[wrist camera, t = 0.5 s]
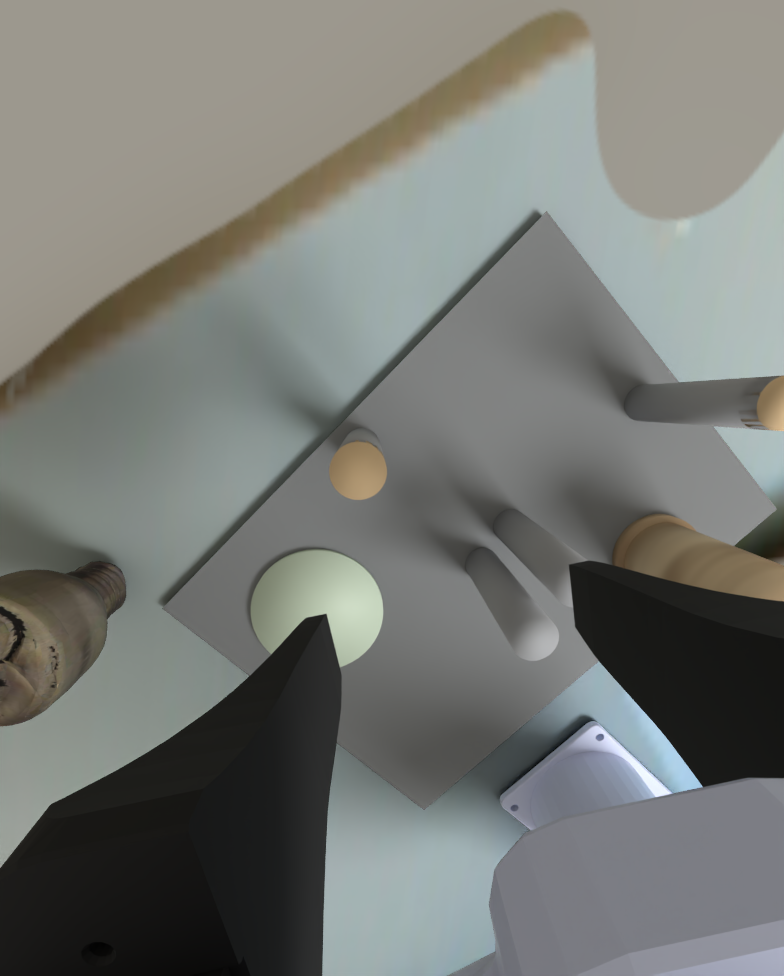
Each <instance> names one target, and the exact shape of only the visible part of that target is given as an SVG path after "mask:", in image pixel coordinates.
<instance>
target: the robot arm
mask: <svg viewBox="0 0 784 976" xmlns="http://www.w3.org/2000/svg"><path fill="white" fill-rule="evenodd" d="M569 572H570V582H571V592H572V602H573V611H574V621H575V628H576V629H577V631H578V632H579V634H580V635H581V637H582V638H583V640H584V641H585V643H586V644H587V646H588V647H589V649H590V650H591V651H592V653H593V654H594V656H595V657H596V658H597V659H598V660H599V662H600V663H601V664H602V665H603V666H604V667H605V668H606V670H607V671H608V672H609V673H610V674H611V675H612V676H613V678H614V679H615V680H616V681H617V682H618V683H619V684H620V685H621V686H622V688H623V689H624V690H625V691H626V692H627V693H628V694H629V695H630V696H631V698H632V699H633V700H634V701H635V702H636V703H637V704H638V705H639V706H640V708H641V709H642V710H643V711H644V712H645V713H646V714H647V715H648V716H649V718H650V719H651V720H652V721H653V722H654V723H655V724H656V726H657V727H658V728H659V729H660V730H661V732H662V733H663V734H664V735H665V736H666V738H667V739H668V740H669V741H670V743H671V744H672V745H673V747H674V748H675V749H676V751H677V752H678V754H679V755H680V756H681V758H682V759H683V760H684V762H685V763H686V764H687V766H688V767H689V768H690V770H691V771H692V772H693V774H694V775H695V776H696V778H697V779H698V780H699V782H700V783H701V785H702V786H703V787H702V788H697V789H692V790H687V791H683V792H678V793H672V792H671V791H670V790H669V789H668V788H667V787H666V786H664V785H663V784H662V783H661V782H660V781H659V780H658V779H657V778H656V777H655V776H654V775H653V774H652V773H651V772H650V771H649V770H648V769H646V768H645V767H644V766H643V765H642V764H641V763H640V762H639V761H638V760H637V759H636V758H635V757H634V756H633V755H632V754H631V753H630V752H628V751H627V750H626V749H625V748H624V747H623V746H622V745H621V744H620V743H619V742H618V741H617V740H616V739H615V738H614V737H613V736H612V735H610V734H609V733H608V732H607V731H606V730H605V729H604V728H603V727H602V726H601V725H600V724H599V723H597V722H596V721H591V722H588V723H587V724H585V725H584V726H583V727H582V728H581V729H579V730H578V731H577V732H576V733H575V734H573V735H572V736H571V737H570V738H569V739H568V740H566V741H565V742H564V743H563V744H562V745H560V746H559V747H558V748H557V749H556V750H554V751H553V752H552V753H551V754H550V755H548V756H547V757H546V758H545V759H544V760H542V761H541V762H540V763H539V764H538V765H536V766H535V767H534V768H533V769H532V770H530V771H529V772H528V773H527V774H526V775H524V776H523V777H522V778H521V779H520V780H518V781H517V782H516V783H515V784H514V785H512V786H511V787H510V788H509V789H508V790H506V791H505V792H504V793H503V794H502V795H501V796H500V803H501V806H502V807H503V808H504V809H505V810H506V811H508V812H509V813H510V814H511V815H512V816H514V817H515V818H516V819H517V820H519V821H520V822H521V823H522V824H523V825H525V826H526V827H527V828H528V829H530V830H531V831H529V832H527V833H524V834H523V835H522V837H521V838H520V839H519V840H518V841H517V842H516V843H515V845H514V846H513V847H512V848H511V849H510V850H509V851H508V853H507V854H506V855H505V856H504V857H503V858H502V859H501V861H500V862H499V863H498V865H497V866H496V868H495V870H494V876H493V882H492V888H491V895H490V901H489V908H490V914H491V919H492V924H493V930H494V935H495V952H493V953H491V954H489V955H487V956H485V957H483V958H481V959H480V960H478V961H476V962H474V963H472V964H470V965H468V966H466V967H464V968H462V969H460V970H458V971H456V972H454V973H452V974H450V975H448V976H784V601H776V600H768V599H761V598H754V597H748V596H742V595H736V594H730V593H724V592H719V591H714V590H709V589H704V588H700V587H695V586H691V585H687V584H682V583H678V582H674V581H670V580H666V579H662V578H658V577H655V576H651V575H647V574H644V573H640V572H636V571H633V570H629V569H625V568H622V567H618V566H614V565H610V564H606V563H602V562H597V561H590V560H589V561H584V562H579V563H574V564H569ZM341 697H342V674H341V670H340V666H339V662H338V658H337V654H336V650H335V646H334V642H333V638H332V634H331V630H330V626H329V622H328V618H327V614H322V615H317V616H312V617H307V618H305V619H304V620H303V621H302V622H301V623H300V624H299V625H298V626H297V627H296V628H295V629H294V630H293V631H292V633H291V634H290V635H289V636H288V637H287V638H286V639H285V640H284V641H283V642H282V643H281V645H280V646H279V647H278V648H277V649H276V650H275V651H274V652H273V653H272V654H271V655H270V656H269V657H268V658H267V659H266V660H265V661H264V662H263V663H262V664H261V665H260V666H259V667H258V668H257V669H256V670H255V671H254V672H253V673H252V674H251V675H250V676H249V677H248V678H247V679H246V680H245V681H244V682H243V683H242V684H240V685H239V686H238V687H237V688H236V689H235V690H234V691H233V692H231V693H230V694H229V695H228V696H227V697H225V698H224V699H223V700H222V701H220V702H219V703H218V704H217V705H216V706H214V707H213V708H212V709H210V710H209V711H208V712H206V713H205V714H204V715H202V716H201V717H199V718H198V719H197V720H195V721H194V722H192V723H191V724H190V725H188V726H187V727H185V728H184V729H183V730H181V731H180V732H178V733H177V734H175V735H174V736H173V737H171V738H170V739H168V740H166V741H165V742H163V743H162V744H160V745H159V746H157V747H155V748H154V749H152V750H151V751H149V752H147V753H146V754H144V755H142V756H141V757H139V758H137V759H136V760H134V761H132V762H130V763H129V764H127V765H125V766H124V767H122V768H120V769H118V770H116V771H115V772H113V773H111V774H109V775H107V776H105V777H103V778H101V779H100V780H98V781H96V782H94V783H92V784H90V785H88V786H86V787H84V788H82V789H80V790H78V791H77V792H75V793H73V794H71V795H69V796H67V797H65V798H63V799H61V800H59V801H57V802H55V803H53V804H51V805H50V806H49V807H48V809H47V810H46V811H45V812H44V814H43V815H42V816H41V817H40V819H39V820H38V821H37V823H36V824H35V825H34V826H33V828H32V829H31V830H30V831H29V833H28V834H27V835H26V836H25V838H24V839H23V840H22V841H21V843H20V844H19V845H18V846H17V848H16V849H15V850H14V852H13V853H12V854H11V855H10V857H9V858H8V859H7V860H6V862H5V863H4V864H3V865H2V867H1V868H0V976H322V956H323V910H324V881H325V854H326V834H327V813H328V802H329V793H330V785H331V778H332V771H333V764H334V757H335V750H336V743H337V736H338V729H339V721H340V714H341ZM598 734H599V735H598Z"/></svg>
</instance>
